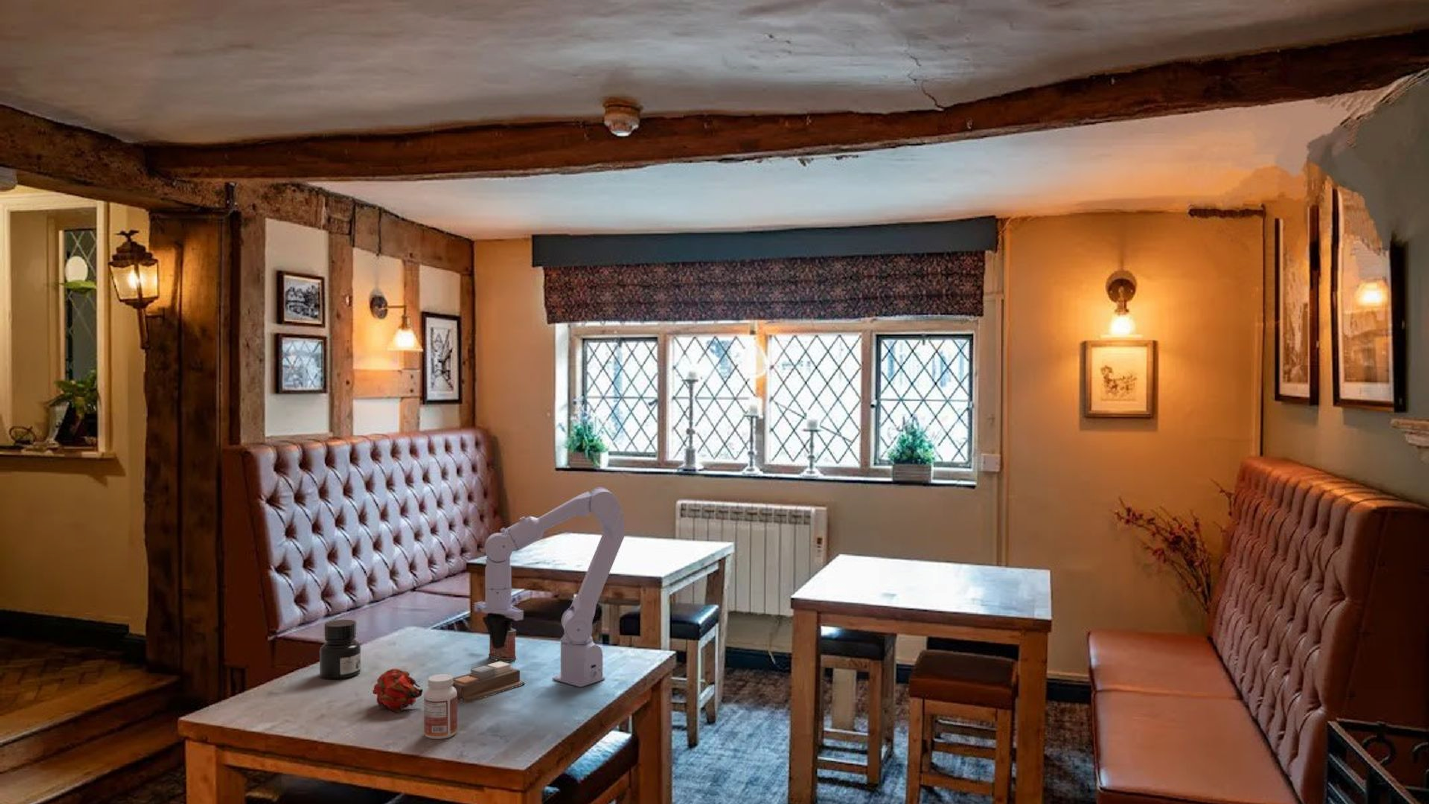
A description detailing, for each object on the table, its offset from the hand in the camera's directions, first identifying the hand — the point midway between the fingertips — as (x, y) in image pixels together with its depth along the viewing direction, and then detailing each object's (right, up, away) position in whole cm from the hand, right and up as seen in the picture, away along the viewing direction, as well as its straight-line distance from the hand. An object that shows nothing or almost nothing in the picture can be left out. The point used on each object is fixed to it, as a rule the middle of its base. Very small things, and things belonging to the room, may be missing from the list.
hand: (498, 647), depth 221 cm
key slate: (-3, -6, -3) cm, 8 cm away
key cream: (0, -6, 0) cm, 6 cm away
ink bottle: (-38, -8, +7) cm, 40 cm away
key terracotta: (-5, -8, -7) cm, 12 cm away
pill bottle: (-4, -9, -31) cm, 33 cm away
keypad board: (-3, -8, -3) cm, 9 cm away
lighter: (-3, -8, +20) cm, 22 cm away
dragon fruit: (-18, -9, -16) cm, 25 cm away
